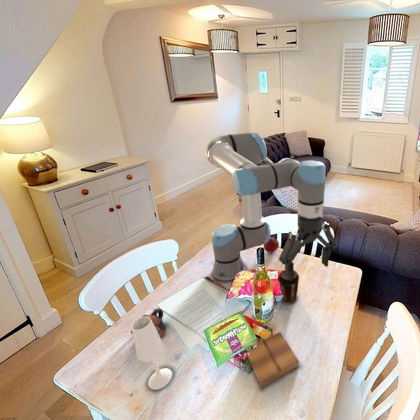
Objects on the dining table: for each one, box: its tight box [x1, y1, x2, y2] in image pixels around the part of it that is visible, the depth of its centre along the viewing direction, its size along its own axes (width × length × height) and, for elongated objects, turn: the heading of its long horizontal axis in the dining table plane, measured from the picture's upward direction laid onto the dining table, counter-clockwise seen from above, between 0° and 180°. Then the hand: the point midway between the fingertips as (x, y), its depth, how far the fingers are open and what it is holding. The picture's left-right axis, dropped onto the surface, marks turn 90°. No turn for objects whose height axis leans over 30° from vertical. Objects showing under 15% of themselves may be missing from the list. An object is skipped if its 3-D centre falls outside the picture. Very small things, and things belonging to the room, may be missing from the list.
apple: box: [263, 237, 280, 253], centre depth 146 cm, size 8×8×8 cm
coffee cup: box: [277, 269, 300, 304], centre depth 113 cm, size 9×8×13 cm
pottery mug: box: [130, 308, 167, 338], centre depth 99 cm, size 12×10×8 cm
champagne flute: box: [130, 316, 173, 391], centre depth 78 cm, size 7×7×24 cm
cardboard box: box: [248, 331, 300, 389], centre depth 89 cm, size 13×13×3 cm
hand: (308, 271), depth 89 cm, fingers open, 13 cm apart
